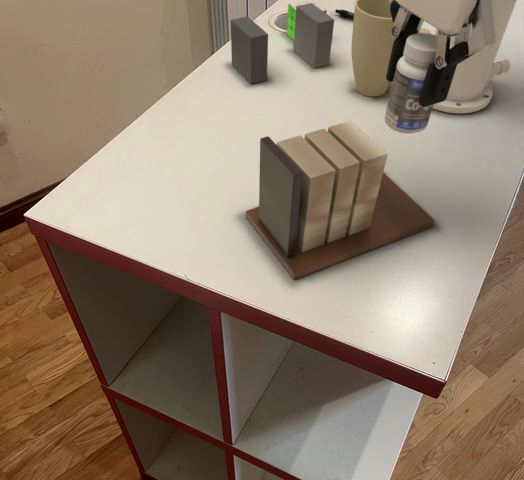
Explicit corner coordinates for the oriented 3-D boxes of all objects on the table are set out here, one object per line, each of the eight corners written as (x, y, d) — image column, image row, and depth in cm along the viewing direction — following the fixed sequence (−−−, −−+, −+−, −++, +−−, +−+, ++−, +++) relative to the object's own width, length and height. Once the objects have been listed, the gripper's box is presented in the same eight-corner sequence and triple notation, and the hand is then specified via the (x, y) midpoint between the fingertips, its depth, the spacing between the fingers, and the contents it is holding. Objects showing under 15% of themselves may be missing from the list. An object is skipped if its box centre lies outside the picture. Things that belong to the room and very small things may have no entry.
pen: (332, 16, 98) (333, 9, 97) (336, 13, 99) (337, 6, 98) (400, 35, 94) (401, 28, 93) (403, 31, 95) (405, 25, 94)
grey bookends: (307, 47, 91) (311, 2, 85) (329, 64, 87) (334, 19, 82) (231, 65, 86) (230, 19, 81) (250, 84, 83) (250, 37, 77)
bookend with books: (376, 173, 70) (397, 85, 60) (432, 226, 64) (465, 137, 54) (245, 217, 64) (244, 127, 54) (293, 280, 58) (302, 191, 48)
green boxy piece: (298, 45, 91) (300, 14, 87) (286, 34, 94) (288, 3, 90) (323, 41, 92) (326, 10, 88) (311, 29, 95) (313, -1, 91)
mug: (348, 107, 79) (362, 22, 70) (338, 75, 85) (350, -8, 75) (418, 106, 80) (441, 21, 70) (403, 74, 86) (423, -8, 76)
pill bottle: (399, 139, 55) (421, 56, 48) (375, 116, 57) (393, 35, 50) (436, 129, 56) (462, 47, 49) (411, 107, 58) (432, 27, 52)
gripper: (602, -126, 36) (498, 121, 51) (443, -175, 44) (394, 49, 59) (523, -114, 34) (439, 141, 48) (372, -168, 42) (340, 62, 57)
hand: (415, 88), depth 54 cm, fingers closed on pill bottle, 4 cm apart
